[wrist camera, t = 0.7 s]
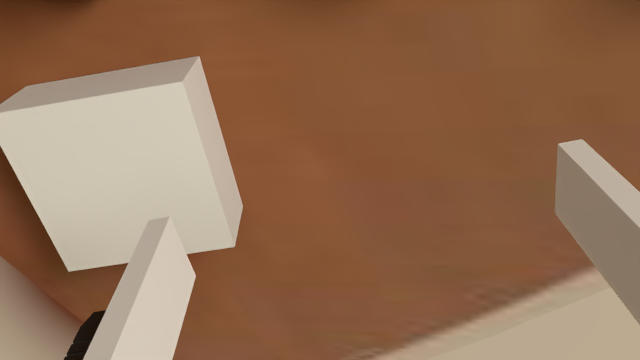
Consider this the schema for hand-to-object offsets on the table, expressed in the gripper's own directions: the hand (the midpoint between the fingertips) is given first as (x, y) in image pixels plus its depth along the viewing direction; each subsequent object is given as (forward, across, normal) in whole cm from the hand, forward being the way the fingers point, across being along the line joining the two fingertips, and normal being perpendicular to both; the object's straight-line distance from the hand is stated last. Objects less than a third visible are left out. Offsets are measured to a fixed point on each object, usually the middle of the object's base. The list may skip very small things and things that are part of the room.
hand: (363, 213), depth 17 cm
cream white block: (+24, -18, -6) cm, 30 cm away
